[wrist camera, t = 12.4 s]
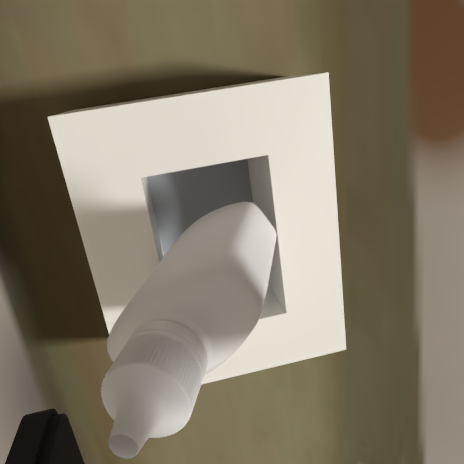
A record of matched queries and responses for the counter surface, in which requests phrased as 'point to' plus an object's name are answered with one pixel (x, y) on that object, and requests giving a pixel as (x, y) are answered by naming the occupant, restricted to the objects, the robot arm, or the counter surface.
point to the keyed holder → (215, 199)
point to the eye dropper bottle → (186, 323)
